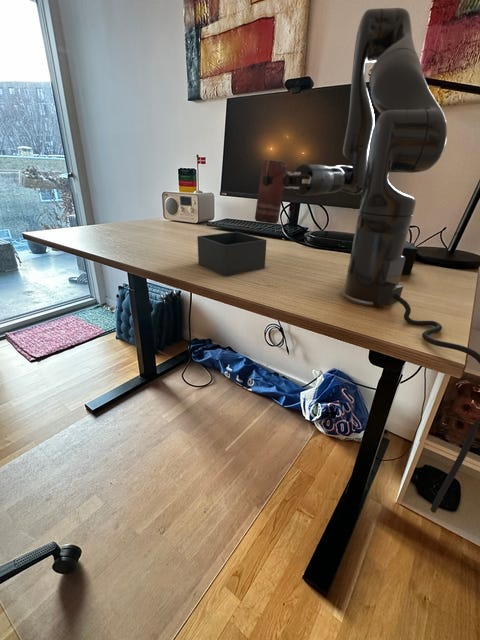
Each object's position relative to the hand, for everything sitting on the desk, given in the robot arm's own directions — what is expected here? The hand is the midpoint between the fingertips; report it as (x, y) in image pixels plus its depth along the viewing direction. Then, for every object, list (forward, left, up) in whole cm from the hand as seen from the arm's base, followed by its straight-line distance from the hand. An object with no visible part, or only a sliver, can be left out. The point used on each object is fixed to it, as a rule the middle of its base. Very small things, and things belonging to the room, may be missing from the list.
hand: (264, 180), depth 72 cm
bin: (+6, +5, -22) cm, 23 cm away
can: (+1, -2, -10) cm, 10 cm away
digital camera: (-22, -33, -22) cm, 45 cm away
